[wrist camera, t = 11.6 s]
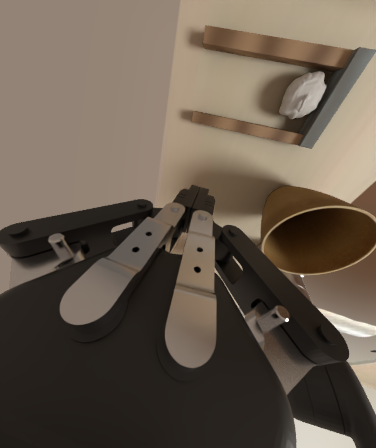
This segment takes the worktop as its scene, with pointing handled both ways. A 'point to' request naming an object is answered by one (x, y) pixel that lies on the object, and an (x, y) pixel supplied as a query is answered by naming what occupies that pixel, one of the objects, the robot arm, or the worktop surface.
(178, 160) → the worktop surface
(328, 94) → the guide track
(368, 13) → the worktop surface
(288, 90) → the garlic
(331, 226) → the plant pot
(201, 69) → the worktop surface
